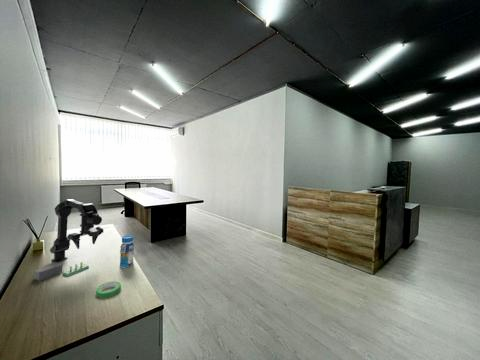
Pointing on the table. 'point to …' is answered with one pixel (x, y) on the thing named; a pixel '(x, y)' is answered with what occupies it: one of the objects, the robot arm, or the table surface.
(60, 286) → the table surface
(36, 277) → the block
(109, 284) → the tape roll
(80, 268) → the green peg board
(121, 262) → the beverage bottle
